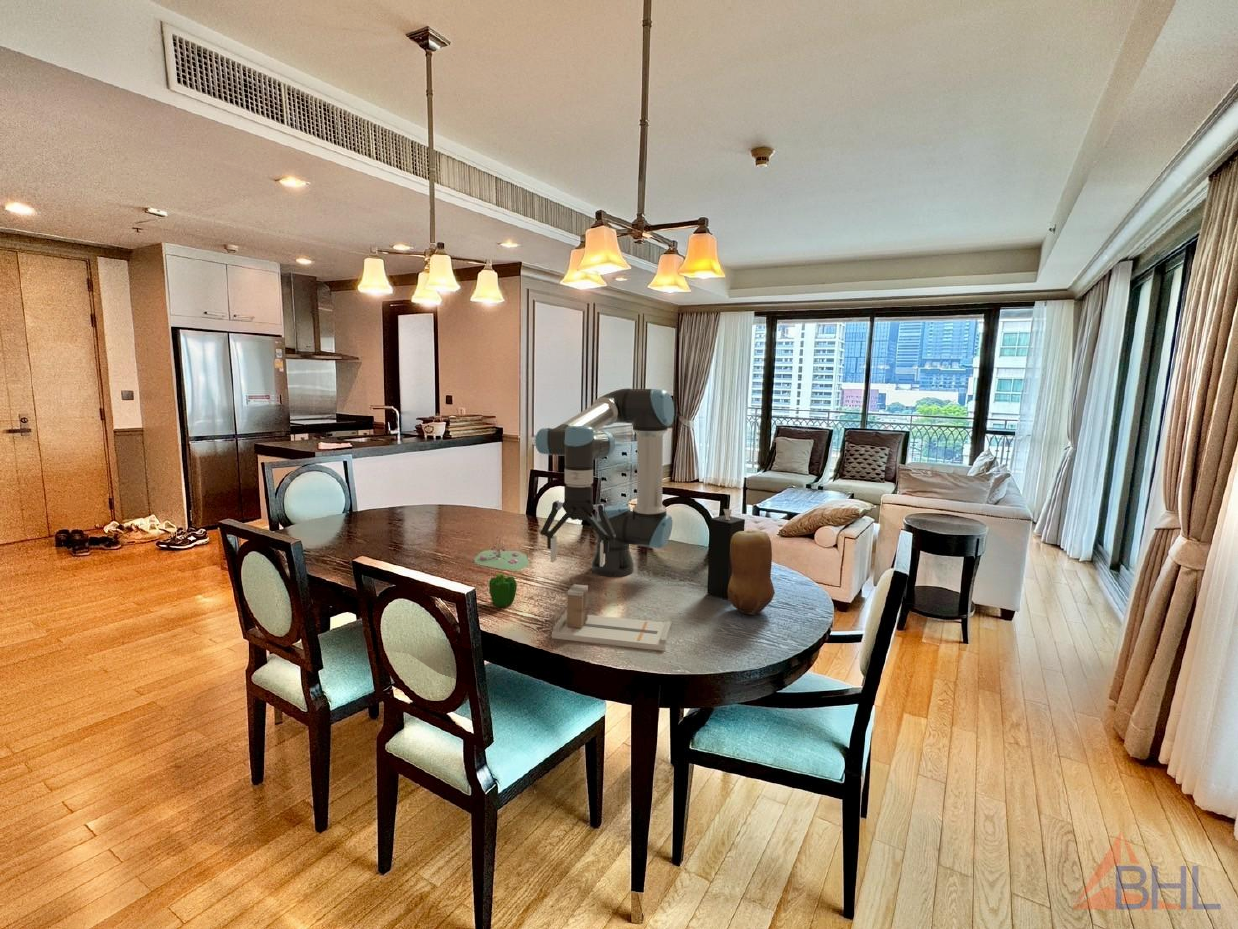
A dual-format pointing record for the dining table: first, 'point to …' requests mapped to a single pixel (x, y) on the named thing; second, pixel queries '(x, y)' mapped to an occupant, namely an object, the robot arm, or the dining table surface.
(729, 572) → the tissue box
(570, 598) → the fader knob
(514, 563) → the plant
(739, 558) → the butternut squash
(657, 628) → the slider console
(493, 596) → the bell pepper
